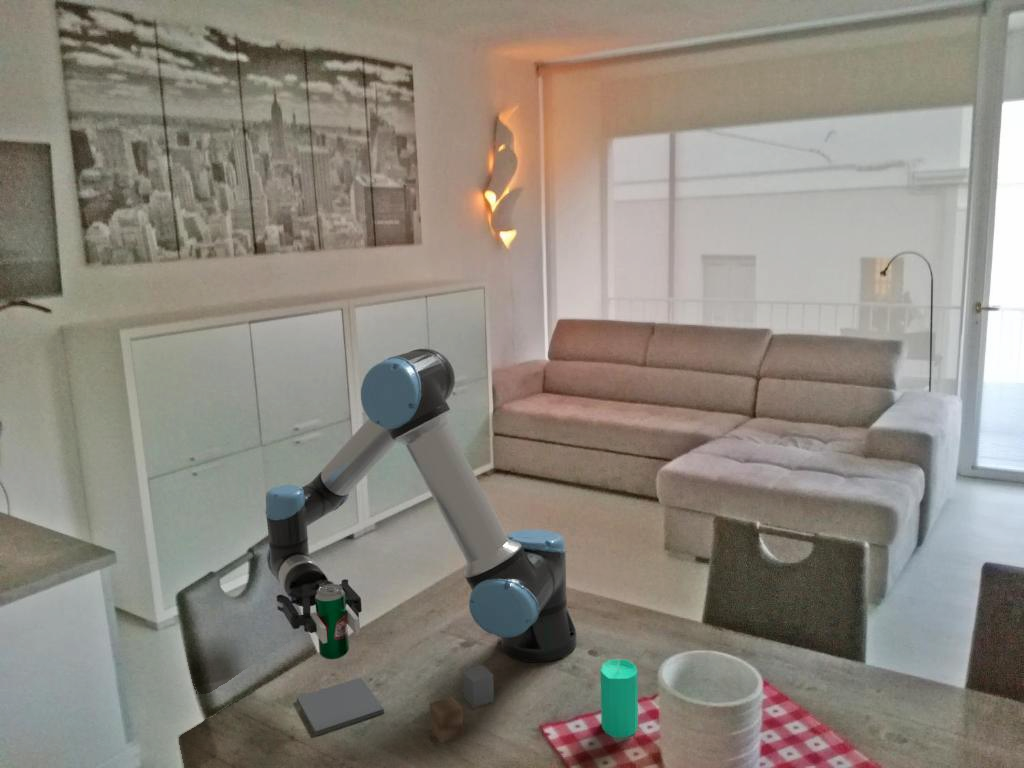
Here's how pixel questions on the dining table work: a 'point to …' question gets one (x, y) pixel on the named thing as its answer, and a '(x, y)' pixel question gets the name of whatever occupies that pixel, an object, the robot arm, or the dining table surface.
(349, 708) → the grey square plate
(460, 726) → the walnut block
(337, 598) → the soda can
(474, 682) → the slate grey block
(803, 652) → the dining table surface
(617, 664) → the candle
